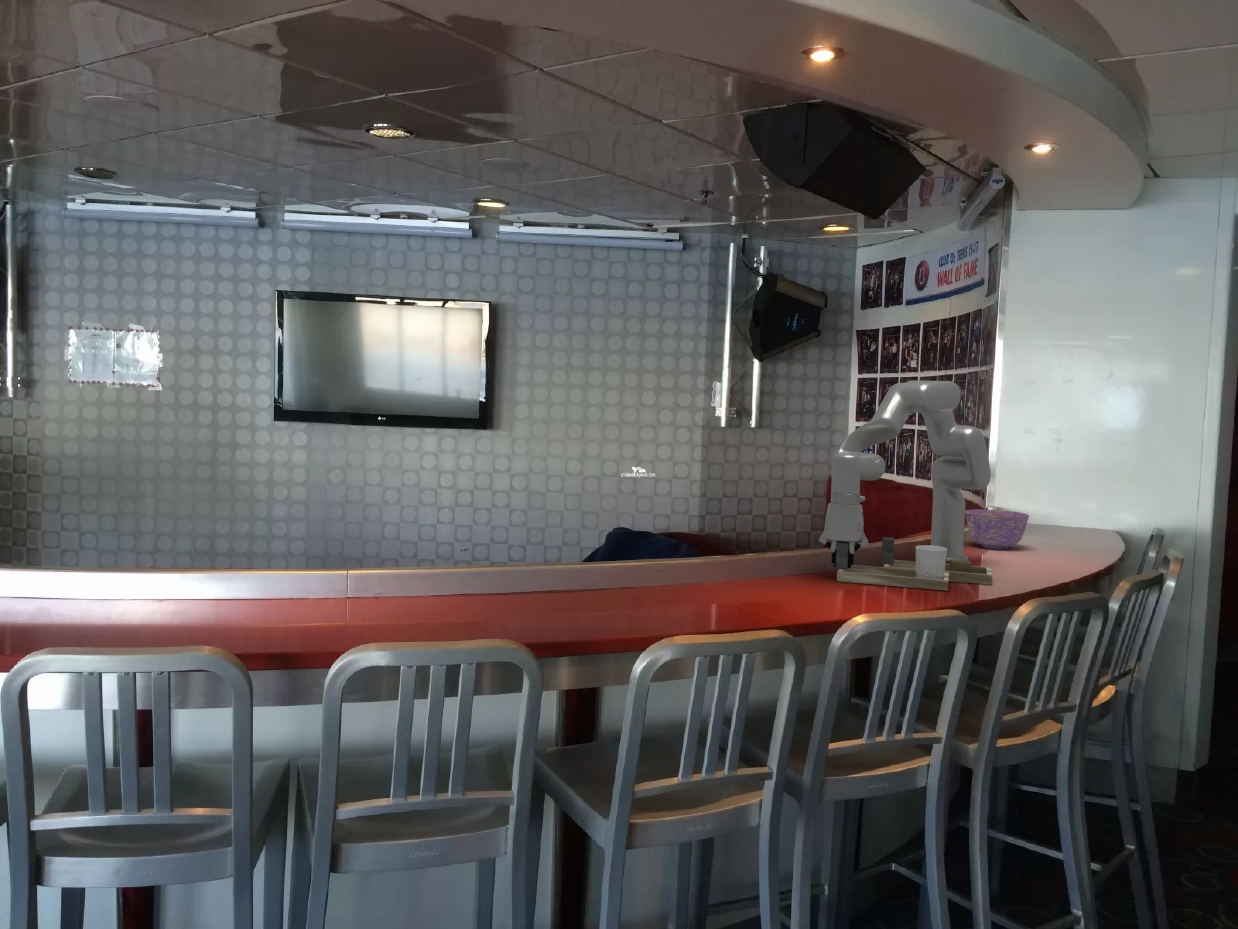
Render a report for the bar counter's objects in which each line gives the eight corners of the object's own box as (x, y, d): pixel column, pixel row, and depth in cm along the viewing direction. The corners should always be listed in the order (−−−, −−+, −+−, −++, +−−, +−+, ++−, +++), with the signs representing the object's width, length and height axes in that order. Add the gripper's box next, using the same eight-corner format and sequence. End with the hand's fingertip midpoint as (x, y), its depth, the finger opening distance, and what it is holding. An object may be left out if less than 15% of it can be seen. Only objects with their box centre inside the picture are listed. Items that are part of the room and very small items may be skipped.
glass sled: (839, 572, 271) (840, 538, 271) (948, 581, 262) (950, 546, 261) (833, 580, 259) (834, 545, 258) (947, 590, 249) (949, 553, 249)
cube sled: (883, 567, 281) (884, 535, 280) (990, 576, 271) (992, 542, 271) (879, 575, 269) (881, 541, 268) (991, 584, 259) (993, 549, 258)
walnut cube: (948, 576, 271) (949, 559, 270) (967, 577, 270) (968, 560, 270) (951, 580, 266) (952, 562, 265) (971, 581, 265) (972, 563, 265)
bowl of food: (954, 546, 325) (955, 512, 324) (976, 540, 340) (978, 508, 340) (1015, 554, 312) (1017, 518, 311) (1035, 547, 327) (1037, 513, 327)
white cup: (941, 583, 261) (943, 546, 260) (948, 588, 253) (950, 550, 252) (911, 581, 262) (913, 544, 261) (917, 587, 254) (918, 549, 253)
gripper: (877, 500, 264) (874, 567, 265) (816, 496, 269) (813, 562, 271) (875, 502, 257) (872, 571, 258) (812, 499, 262) (809, 566, 264)
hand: (842, 566), depth 264 cm, fingers closed on glass sled, 3 cm apart
